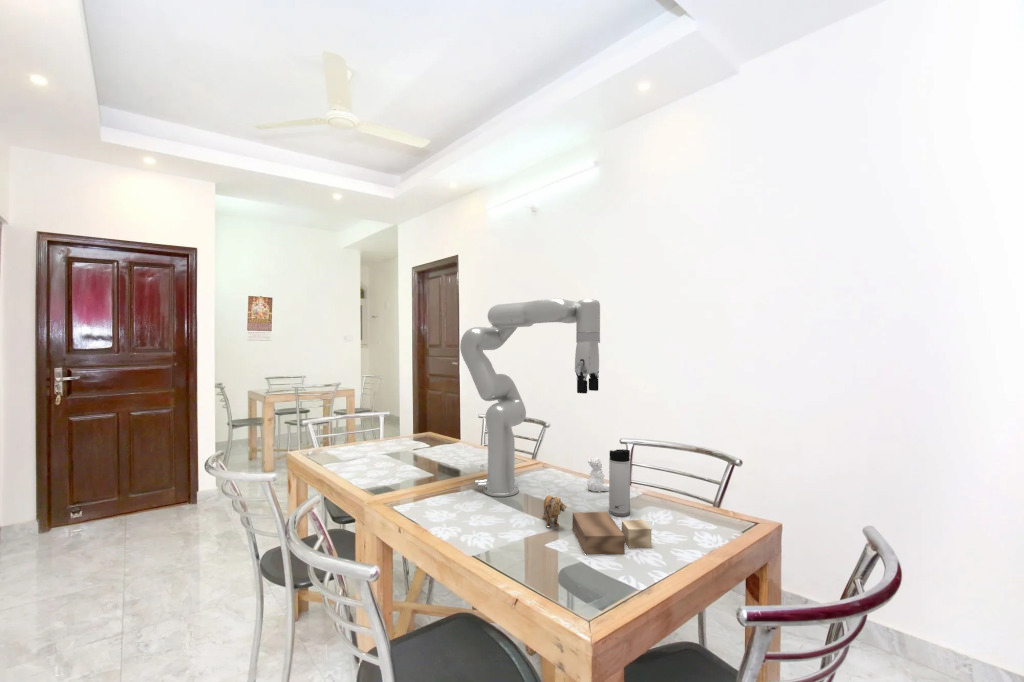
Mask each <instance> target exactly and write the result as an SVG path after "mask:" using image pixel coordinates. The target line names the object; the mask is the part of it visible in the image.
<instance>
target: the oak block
mask: <svg viewBox="0 0 1024 682" xmlns="http://www.w3.org/2000/svg"><path fill="white" fill-rule="evenodd" d="M621 531H622V533H623V534H624V535H625V543H626V544H625V546H626V545H627V546H628V547H627V546H626V547H627V548H628V549H652V528H651V527H650V526H649V524H648V523H647V522H646V521H645V520H644V519H631V520H630V519H629V520H624V519H623V520H621Z"/></svg>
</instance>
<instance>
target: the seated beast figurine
mask: <svg viewBox="0 0 1024 682" xmlns="http://www.w3.org/2000/svg"><path fill="white" fill-rule="evenodd" d="M587 463H588V464H589V466H590V467H591V469H592V470H591V471H590V473H589V475H590V476H589V477H588V480H587V483H586V485H587V488H588V490H589V491H590V490H591V491H590V492H593V491H609V483H606V482H605V479H604V477H605V474H604V471H603V469H602V468H603V464H602V461H601V460H600V458H599V457H598V456H593V457H591V458H587Z"/></svg>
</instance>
